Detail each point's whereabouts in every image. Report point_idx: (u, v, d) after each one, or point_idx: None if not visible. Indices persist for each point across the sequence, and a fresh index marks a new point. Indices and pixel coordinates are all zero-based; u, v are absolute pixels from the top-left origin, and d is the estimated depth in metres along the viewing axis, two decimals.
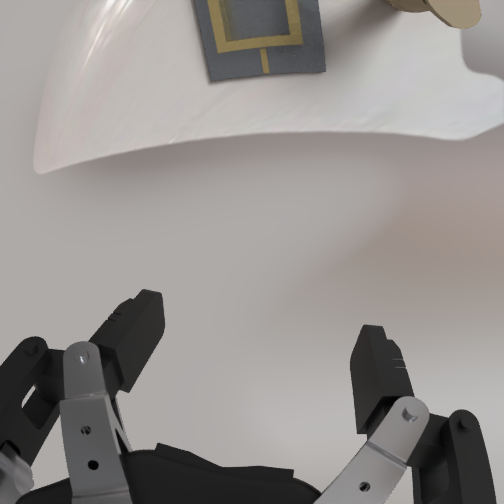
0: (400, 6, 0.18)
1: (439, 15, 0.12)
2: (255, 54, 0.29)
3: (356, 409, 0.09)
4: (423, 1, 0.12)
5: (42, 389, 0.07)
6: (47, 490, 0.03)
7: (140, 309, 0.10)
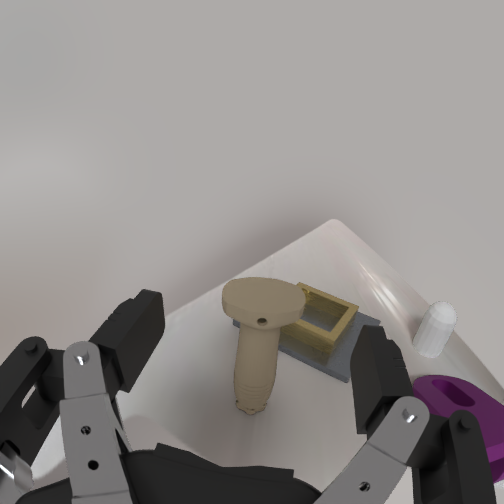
0: None
1: None
2: None
3: (355, 409, 0.09)
4: None
5: (42, 389, 0.07)
6: (46, 490, 0.03)
7: (140, 309, 0.10)
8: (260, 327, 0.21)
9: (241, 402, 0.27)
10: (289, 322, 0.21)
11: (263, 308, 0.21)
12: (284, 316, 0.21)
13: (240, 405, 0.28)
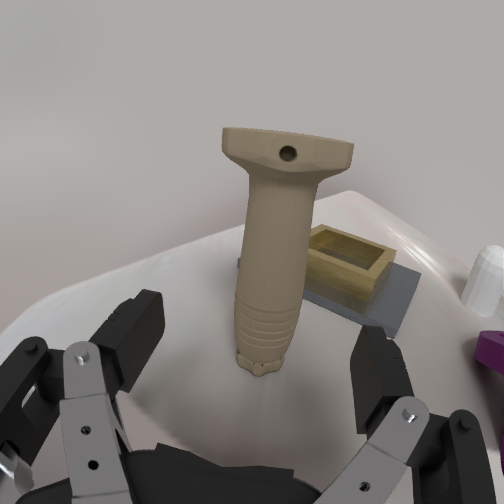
0: None
1: None
2: None
3: (355, 409, 0.09)
4: None
5: (42, 389, 0.07)
6: (47, 490, 0.03)
7: (140, 309, 0.10)
8: (285, 166, 0.12)
9: (245, 350, 0.18)
10: (333, 164, 0.12)
11: (290, 134, 0.12)
12: (325, 147, 0.12)
13: (243, 359, 0.18)
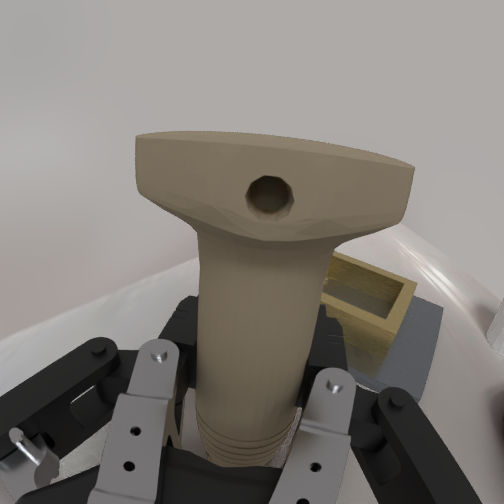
0: None
1: None
2: None
3: None
4: None
5: (101, 391, 0.07)
6: (47, 490, 0.03)
7: None
8: (261, 229, 0.05)
9: (215, 460, 0.11)
10: (377, 219, 0.05)
11: (276, 145, 0.05)
12: (363, 180, 0.05)
13: (215, 462, 0.11)
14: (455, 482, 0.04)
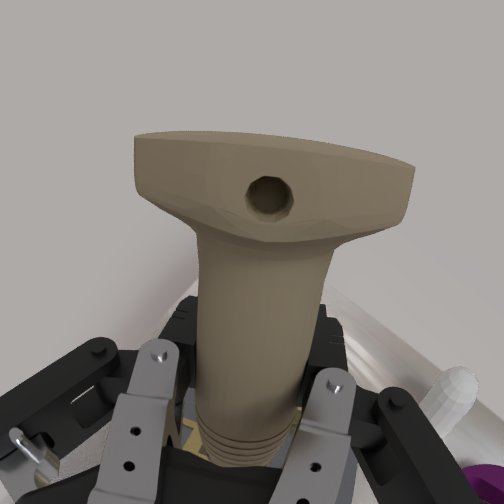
0: None
1: None
2: None
3: None
4: None
5: (100, 391, 0.07)
6: (47, 490, 0.03)
7: None
8: (261, 230, 0.05)
9: (214, 461, 0.11)
10: (378, 219, 0.05)
11: (276, 145, 0.05)
12: (364, 181, 0.05)
13: (214, 462, 0.11)
14: (455, 482, 0.04)
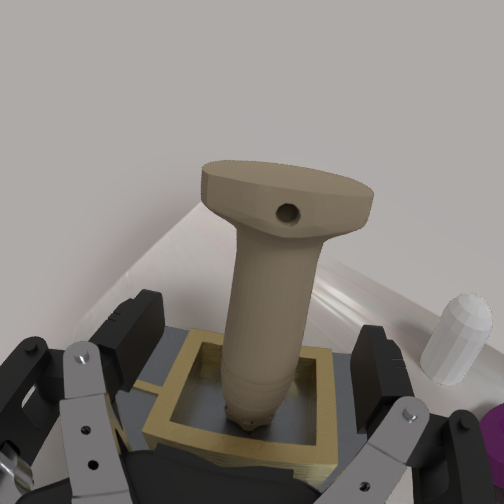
0: None
1: None
2: (163, 381, 0.19)
3: (355, 409, 0.09)
4: None
5: (42, 389, 0.07)
6: (47, 490, 0.03)
7: (140, 309, 0.10)
8: (283, 231, 0.09)
9: (233, 410, 0.15)
10: (347, 226, 0.09)
11: (292, 185, 0.09)
12: (338, 205, 0.09)
13: (231, 414, 0.16)
14: None
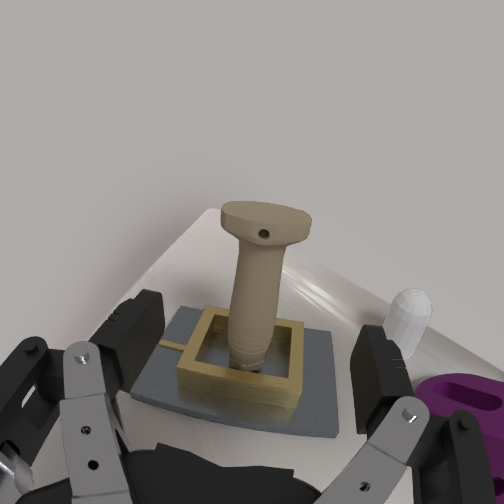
0: None
1: None
2: (186, 342, 0.29)
3: (355, 409, 0.09)
4: None
5: (42, 389, 0.07)
6: (46, 490, 0.03)
7: (140, 309, 0.10)
8: (261, 242, 0.19)
9: (235, 355, 0.25)
10: (294, 239, 0.19)
11: (266, 219, 0.19)
12: (288, 229, 0.19)
13: (233, 360, 0.26)
14: None
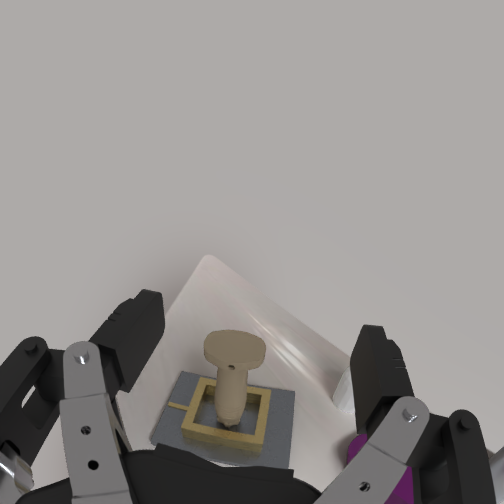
0: None
1: (224, 331, 0.31)
2: (187, 403, 0.38)
3: (356, 409, 0.09)
4: None
5: (42, 389, 0.07)
6: (47, 490, 0.03)
7: (140, 309, 0.10)
8: (230, 370, 0.28)
9: (220, 417, 0.34)
10: (251, 368, 0.28)
11: (232, 357, 0.28)
12: (247, 364, 0.28)
13: (219, 419, 0.34)
14: None
